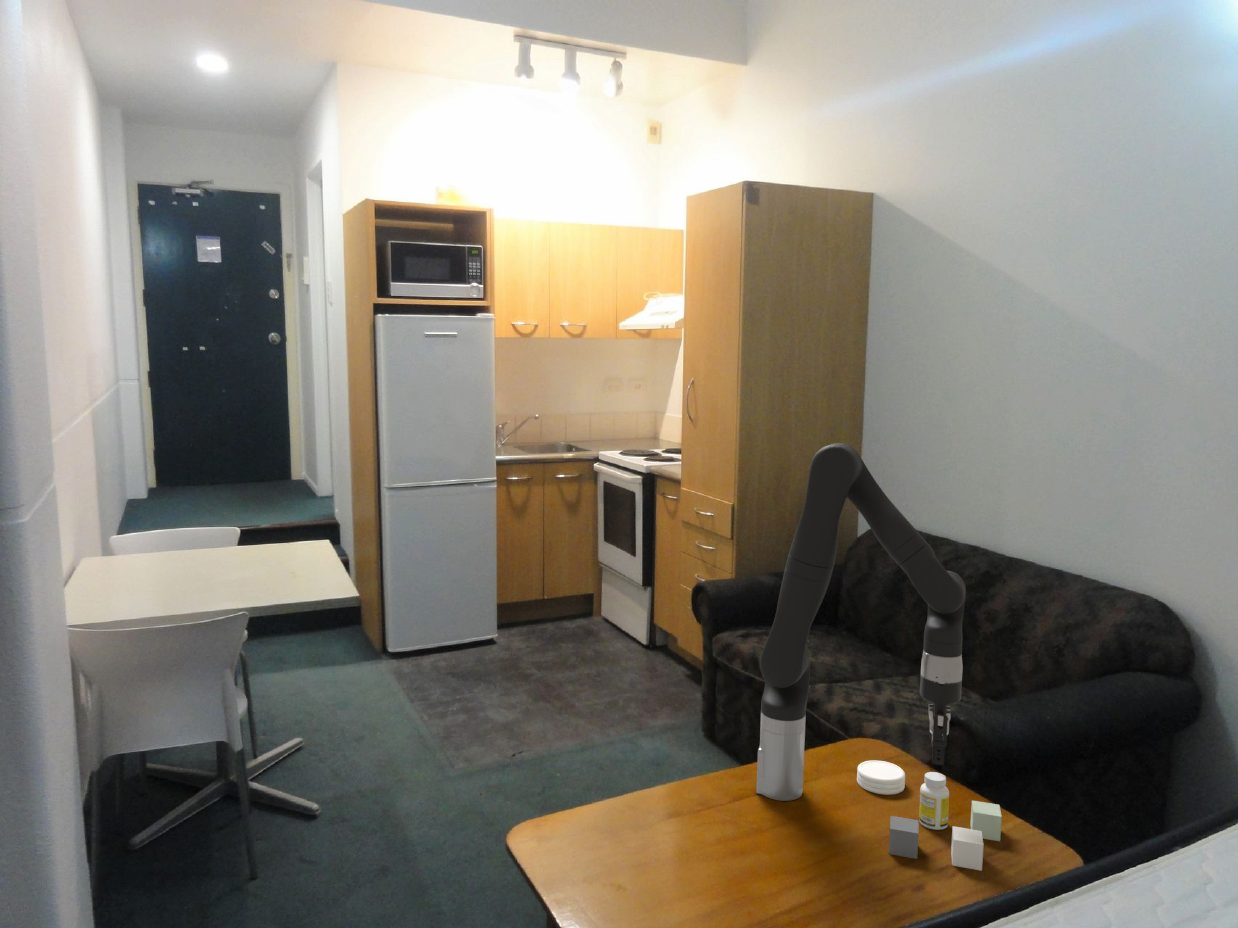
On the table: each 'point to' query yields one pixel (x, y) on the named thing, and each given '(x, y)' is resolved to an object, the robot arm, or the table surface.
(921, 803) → the supplement bottle
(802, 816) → the table surface
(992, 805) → the sage block
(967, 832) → the pale grey block
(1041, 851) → the table surface
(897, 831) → the medium grey block
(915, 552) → the robot arm
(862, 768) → the coaster
